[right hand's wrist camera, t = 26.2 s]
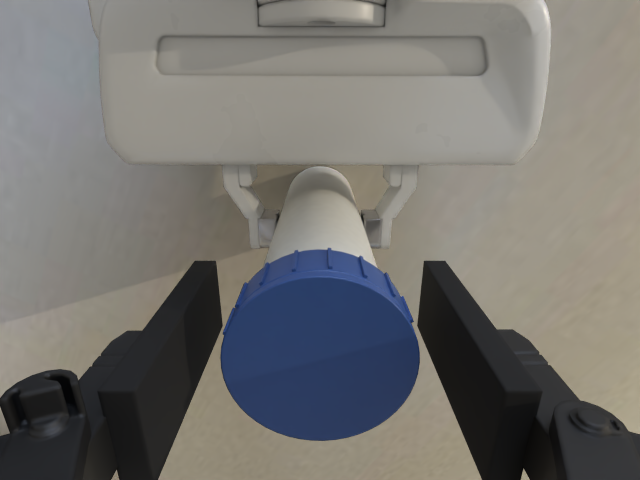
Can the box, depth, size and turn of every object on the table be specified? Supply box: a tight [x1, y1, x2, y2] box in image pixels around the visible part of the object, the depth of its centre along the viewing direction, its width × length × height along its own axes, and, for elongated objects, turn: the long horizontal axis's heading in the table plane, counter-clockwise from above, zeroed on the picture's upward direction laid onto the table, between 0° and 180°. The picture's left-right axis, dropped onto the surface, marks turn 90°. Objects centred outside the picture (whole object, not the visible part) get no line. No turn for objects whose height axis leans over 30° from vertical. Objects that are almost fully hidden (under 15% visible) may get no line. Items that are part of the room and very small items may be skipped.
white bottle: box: [263, 166, 377, 268], centre depth 20 cm, size 5×5×17 cm
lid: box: [221, 248, 420, 441], centre depth 11 cm, size 6×6×2 cm
